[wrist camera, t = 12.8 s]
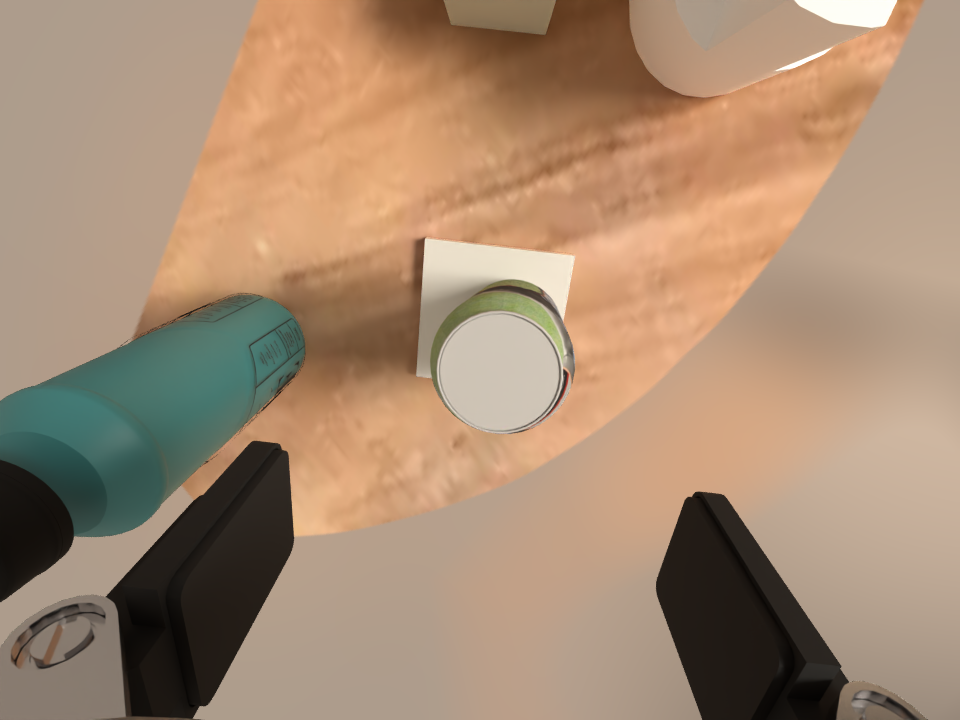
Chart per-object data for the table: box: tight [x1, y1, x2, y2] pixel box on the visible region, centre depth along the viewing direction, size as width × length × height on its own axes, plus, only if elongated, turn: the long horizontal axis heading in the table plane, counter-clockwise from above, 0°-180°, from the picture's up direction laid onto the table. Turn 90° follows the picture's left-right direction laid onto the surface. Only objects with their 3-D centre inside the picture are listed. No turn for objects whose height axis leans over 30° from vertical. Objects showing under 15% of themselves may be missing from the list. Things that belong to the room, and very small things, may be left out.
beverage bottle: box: [0, 293, 305, 602], centre depth 21 cm, size 6×7×20 cm
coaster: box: [416, 237, 575, 378], centre depth 29 cm, size 9×9×1 cm
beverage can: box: [430, 279, 575, 434], centre depth 23 cm, size 6×7×12 cm
